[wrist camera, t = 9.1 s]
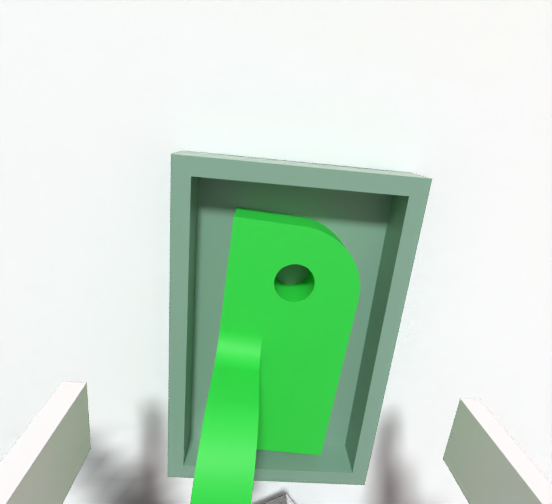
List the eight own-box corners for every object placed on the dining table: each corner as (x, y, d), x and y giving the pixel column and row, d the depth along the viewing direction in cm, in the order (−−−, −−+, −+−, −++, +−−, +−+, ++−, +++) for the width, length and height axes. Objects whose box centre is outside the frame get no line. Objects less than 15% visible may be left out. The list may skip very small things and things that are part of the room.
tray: (177, 441, 22) (167, 476, 20) (183, 150, 17) (171, 153, 15) (354, 449, 23) (364, 484, 20) (410, 172, 18) (431, 178, 15)
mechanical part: (315, 426, 21) (344, 588, 14) (210, 416, 21) (181, 578, 13) (361, 225, 18) (435, 295, 10) (236, 207, 17) (217, 266, 10)
